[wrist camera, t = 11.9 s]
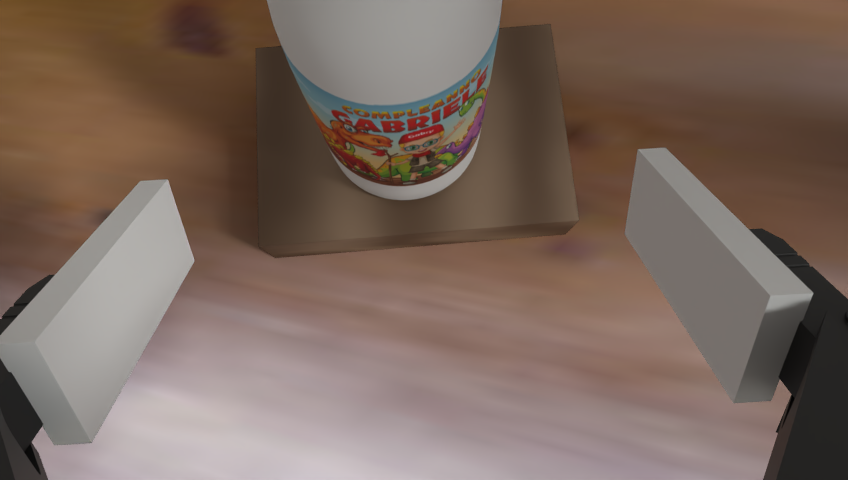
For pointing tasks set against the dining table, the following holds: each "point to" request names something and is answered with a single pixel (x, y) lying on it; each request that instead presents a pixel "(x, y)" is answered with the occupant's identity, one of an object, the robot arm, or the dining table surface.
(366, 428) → the dining table surface
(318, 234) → the brown flat block
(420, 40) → the milk bottle
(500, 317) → the dining table surface
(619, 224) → the dining table surface
